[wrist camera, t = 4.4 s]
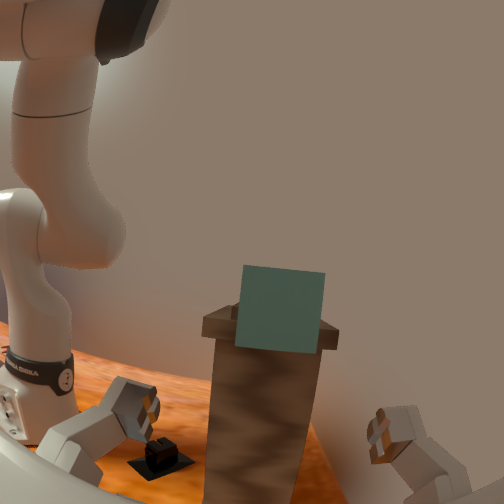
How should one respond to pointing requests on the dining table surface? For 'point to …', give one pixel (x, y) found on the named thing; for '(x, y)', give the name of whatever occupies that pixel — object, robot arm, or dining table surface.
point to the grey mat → (130, 499)
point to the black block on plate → (160, 460)
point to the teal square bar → (279, 309)
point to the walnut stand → (257, 414)
